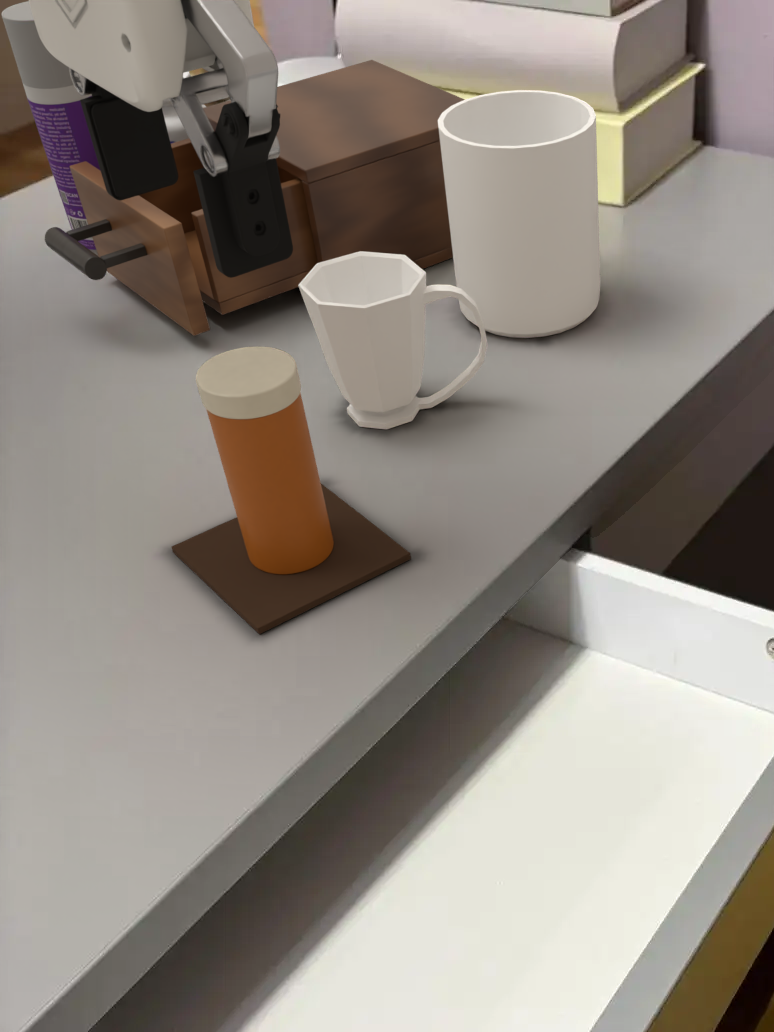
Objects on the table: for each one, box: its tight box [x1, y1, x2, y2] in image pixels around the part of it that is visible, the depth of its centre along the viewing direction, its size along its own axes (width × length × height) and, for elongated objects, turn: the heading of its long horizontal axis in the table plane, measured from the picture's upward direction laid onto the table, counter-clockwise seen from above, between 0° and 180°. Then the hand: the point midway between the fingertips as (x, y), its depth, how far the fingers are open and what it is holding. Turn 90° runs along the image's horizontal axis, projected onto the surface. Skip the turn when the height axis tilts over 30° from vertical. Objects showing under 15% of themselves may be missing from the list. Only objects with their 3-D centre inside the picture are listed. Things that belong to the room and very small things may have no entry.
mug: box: [438, 89, 601, 339], centre depth 79 cm, size 10×12×12 cm
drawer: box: [44, 138, 318, 337], centre depth 82 cm, size 18×13×7 cm
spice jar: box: [195, 345, 334, 574], centre depth 61 cm, size 5×5×10 cm
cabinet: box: [203, 59, 465, 270], centre depth 87 cm, size 15×15×9 cm
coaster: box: [170, 483, 412, 635], centre depth 65 cm, size 9×9×1 cm
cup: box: [298, 251, 488, 430], centre depth 71 cm, size 7×10×8 cm
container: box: [1, 0, 101, 256], centre depth 86 cm, size 5×5×15 cm
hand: (198, 226), depth 52 cm, fingers open, 9 cm apart
